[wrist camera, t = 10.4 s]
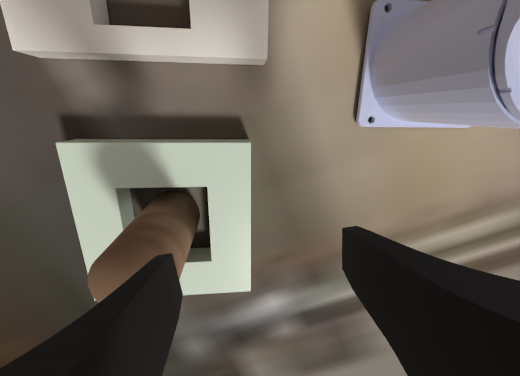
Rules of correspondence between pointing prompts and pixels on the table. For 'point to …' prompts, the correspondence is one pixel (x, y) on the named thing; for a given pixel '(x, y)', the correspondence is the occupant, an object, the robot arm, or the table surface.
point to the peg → (147, 242)
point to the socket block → (139, 32)
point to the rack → (158, 176)
